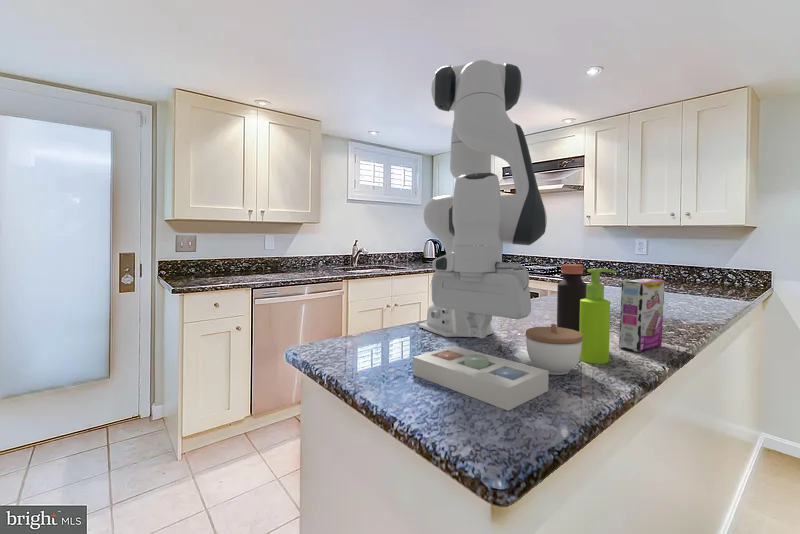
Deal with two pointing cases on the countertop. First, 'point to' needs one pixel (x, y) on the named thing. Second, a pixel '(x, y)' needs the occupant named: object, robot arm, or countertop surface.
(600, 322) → the soap dispenser
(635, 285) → the candy bar box
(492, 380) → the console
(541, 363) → the lidded jar
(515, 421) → the countertop surface
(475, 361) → the button sage
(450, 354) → the button terracotta
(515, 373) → the button slate
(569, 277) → the bottle
